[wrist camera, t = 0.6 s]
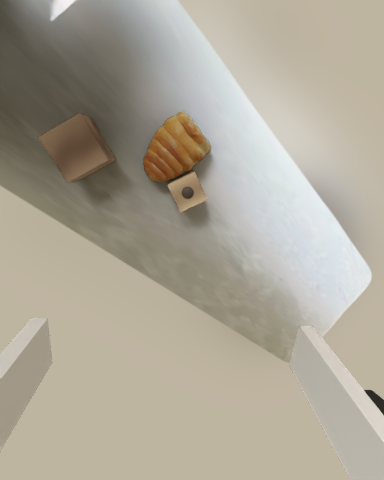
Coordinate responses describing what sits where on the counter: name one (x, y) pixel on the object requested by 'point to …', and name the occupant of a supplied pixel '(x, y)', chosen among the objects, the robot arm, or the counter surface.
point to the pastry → (175, 148)
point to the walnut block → (77, 147)
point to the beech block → (187, 191)
